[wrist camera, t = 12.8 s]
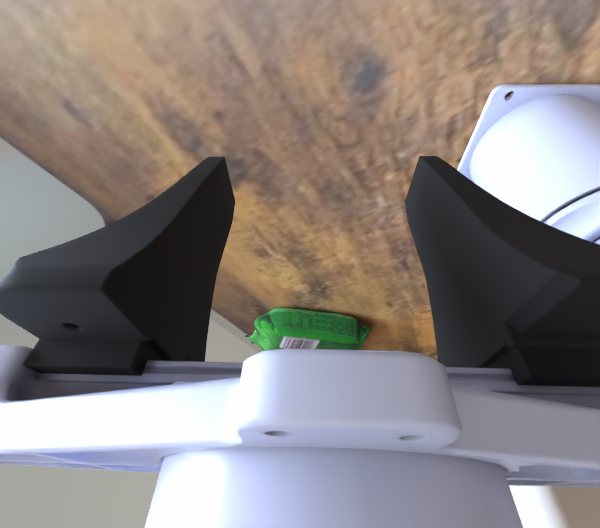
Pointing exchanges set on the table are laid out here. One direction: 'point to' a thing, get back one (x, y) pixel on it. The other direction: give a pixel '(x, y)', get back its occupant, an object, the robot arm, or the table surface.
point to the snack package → (308, 330)
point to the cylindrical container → (539, 507)
